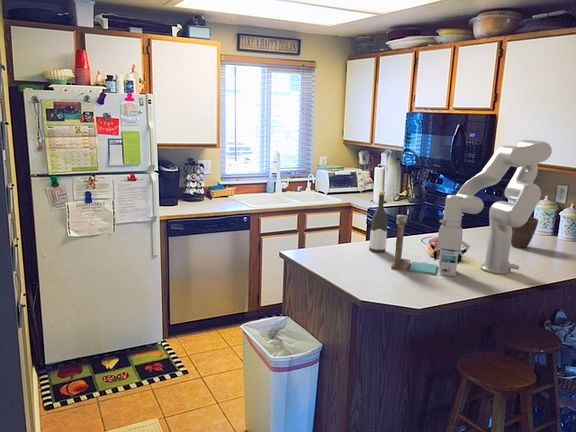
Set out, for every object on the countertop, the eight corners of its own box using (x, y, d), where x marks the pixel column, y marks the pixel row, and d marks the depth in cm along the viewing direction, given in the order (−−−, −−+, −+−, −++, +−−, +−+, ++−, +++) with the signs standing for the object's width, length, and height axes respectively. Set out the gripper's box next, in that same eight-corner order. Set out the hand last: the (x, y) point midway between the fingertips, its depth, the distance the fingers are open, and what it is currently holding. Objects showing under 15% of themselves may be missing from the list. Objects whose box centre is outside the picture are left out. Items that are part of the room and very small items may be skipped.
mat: (436, 266, 227) (436, 264, 227) (435, 274, 215) (435, 273, 215) (412, 263, 230) (412, 261, 230) (409, 271, 218) (409, 269, 218)
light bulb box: (455, 276, 214) (458, 252, 212) (439, 275, 215) (442, 251, 213) (453, 269, 224) (455, 246, 222) (437, 267, 225) (440, 244, 223)
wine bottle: (384, 248, 253) (389, 190, 246) (385, 253, 245) (391, 193, 238) (368, 247, 253) (373, 189, 247) (369, 252, 246) (374, 192, 239)
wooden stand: (409, 262, 231) (414, 214, 226) (407, 270, 219) (412, 219, 214) (394, 260, 233) (398, 212, 228) (390, 268, 221) (395, 218, 216)
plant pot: (539, 251, 261) (544, 221, 258) (511, 250, 261) (515, 220, 258) (526, 244, 276) (530, 215, 272) (499, 242, 276) (503, 214, 272)
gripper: (430, 222, 214) (425, 260, 218) (473, 227, 209) (467, 266, 212) (431, 219, 221) (426, 256, 225) (472, 224, 216) (467, 262, 219)
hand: (446, 261), depth 218 cm, fingers open, 9 cm apart
